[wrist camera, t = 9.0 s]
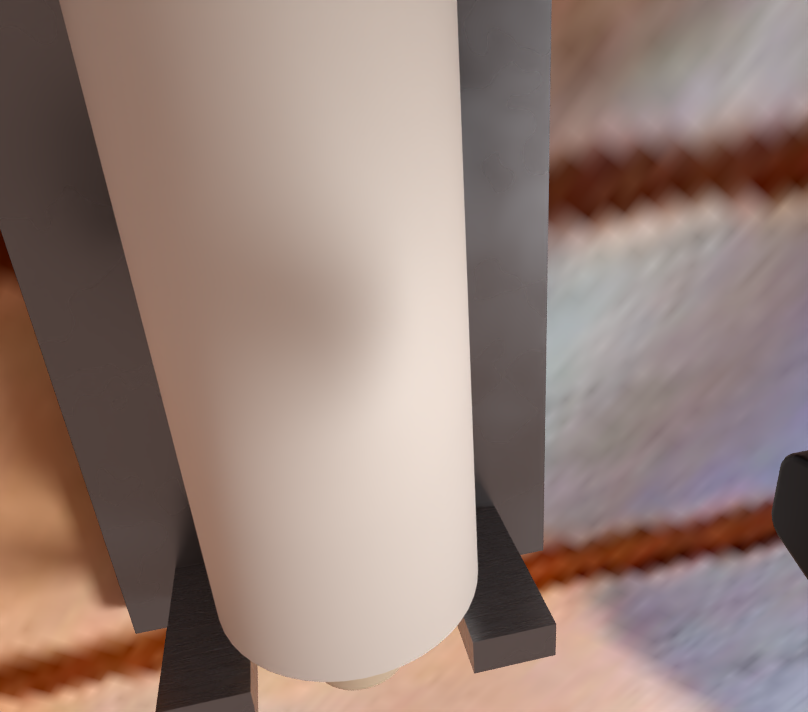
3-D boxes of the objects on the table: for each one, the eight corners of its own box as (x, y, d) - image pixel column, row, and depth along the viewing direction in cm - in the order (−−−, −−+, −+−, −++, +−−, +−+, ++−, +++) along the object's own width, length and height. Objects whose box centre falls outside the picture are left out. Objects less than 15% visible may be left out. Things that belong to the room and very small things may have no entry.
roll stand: (535, -226, 14) (693, -370, 9) (531, 529, 22) (612, 670, 17) (-122, -206, 12) (-376, -371, 7) (140, 607, 20) (106, 789, 15)
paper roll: (68, -151, 12) (-88, -298, 7) (405, -167, 13) (505, -310, 8) (240, 585, 19) (231, 794, 14) (448, 546, 20) (514, 730, 15)
